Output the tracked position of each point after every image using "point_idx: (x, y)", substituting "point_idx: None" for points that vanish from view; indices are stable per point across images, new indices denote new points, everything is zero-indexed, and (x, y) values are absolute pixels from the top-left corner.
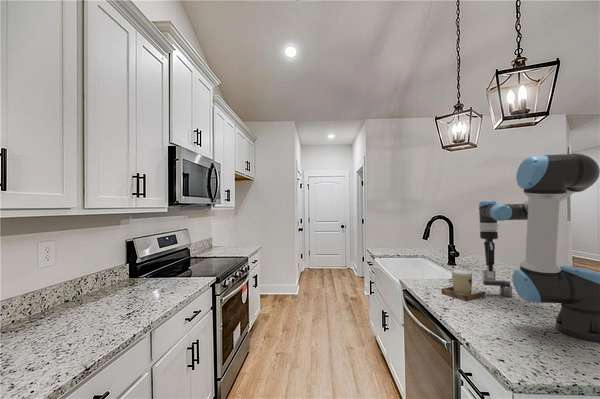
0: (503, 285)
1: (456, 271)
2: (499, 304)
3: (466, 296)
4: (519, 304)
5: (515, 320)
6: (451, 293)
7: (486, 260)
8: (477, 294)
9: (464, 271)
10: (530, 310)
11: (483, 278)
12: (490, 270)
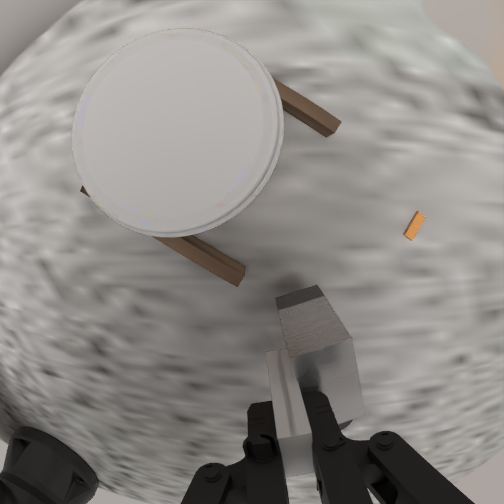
0: None
1: (176, 67)
2: (137, 336)
3: (80, 190)
4: (192, 405)
5: (11, 357)
6: None
7: (354, 461)
8: (167, 244)
9: (220, 147)
10: (136, 422)
11: (301, 311)
12: (248, 419)
